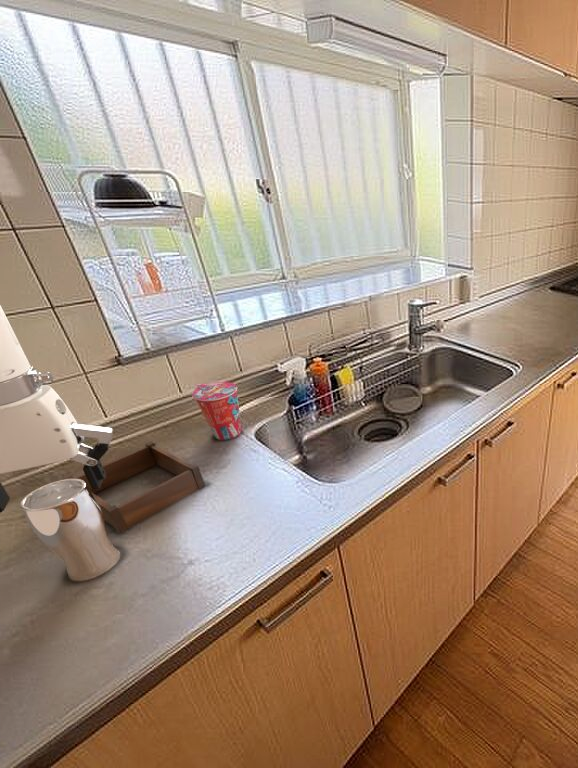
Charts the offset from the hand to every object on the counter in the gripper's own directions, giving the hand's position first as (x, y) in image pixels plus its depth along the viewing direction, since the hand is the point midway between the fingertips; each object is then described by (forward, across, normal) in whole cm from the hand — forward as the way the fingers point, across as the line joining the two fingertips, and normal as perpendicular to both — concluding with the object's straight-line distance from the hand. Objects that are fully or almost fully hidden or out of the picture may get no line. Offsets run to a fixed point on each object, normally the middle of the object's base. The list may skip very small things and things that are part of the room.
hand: (52, 494), depth 59 cm
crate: (+15, -5, -16) cm, 22 cm away
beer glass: (+15, 0, 0) cm, 15 cm away
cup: (+15, -19, -31) cm, 40 cm away
